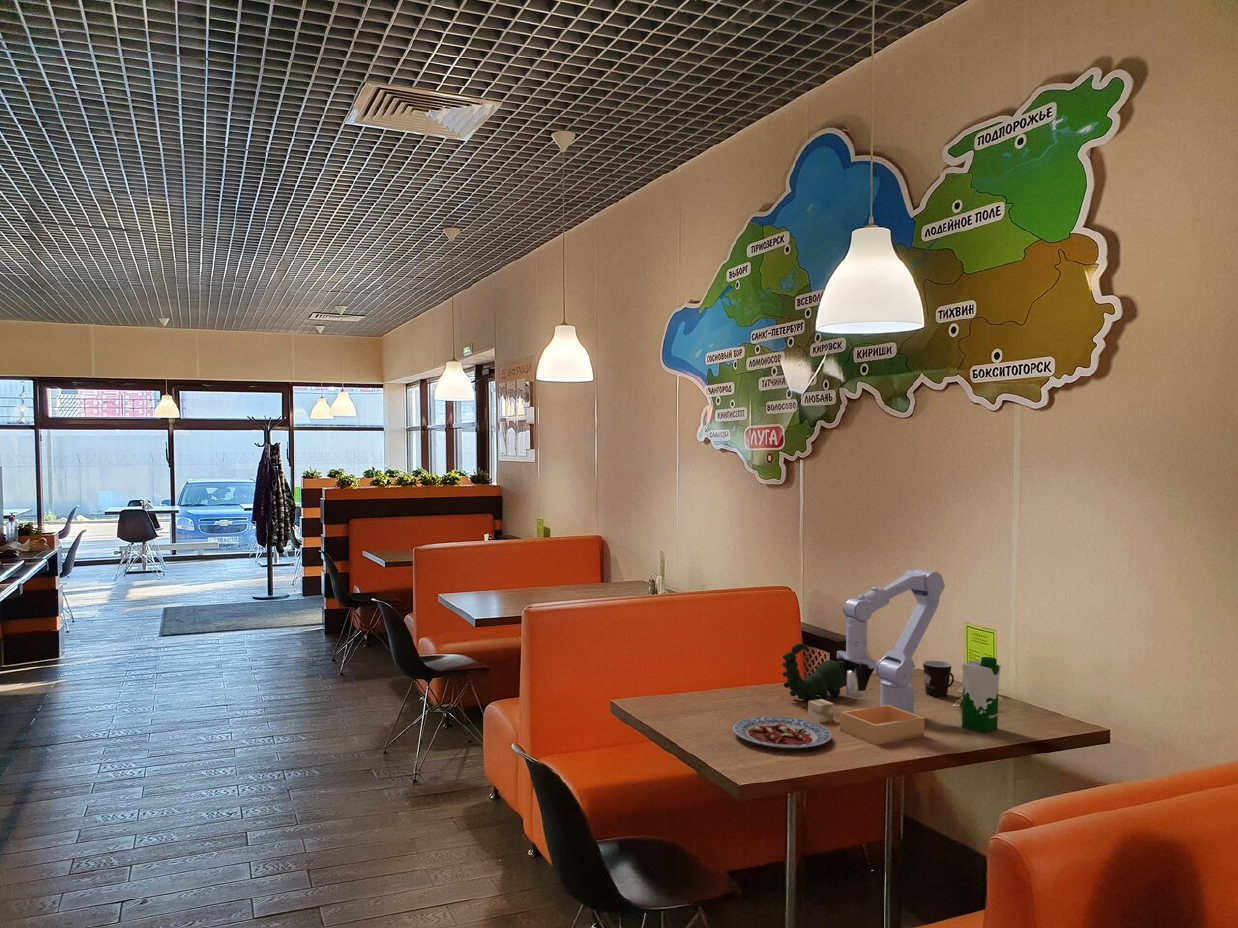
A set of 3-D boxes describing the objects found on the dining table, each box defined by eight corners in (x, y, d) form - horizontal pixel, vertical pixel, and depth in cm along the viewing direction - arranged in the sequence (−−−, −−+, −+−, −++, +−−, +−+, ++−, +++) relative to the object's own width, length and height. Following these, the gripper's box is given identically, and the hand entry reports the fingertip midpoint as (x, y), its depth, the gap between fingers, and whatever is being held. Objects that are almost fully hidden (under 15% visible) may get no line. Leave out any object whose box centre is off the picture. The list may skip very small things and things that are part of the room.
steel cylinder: (855, 691, 264) (856, 668, 264) (867, 696, 260) (868, 671, 260) (842, 693, 262) (843, 669, 262) (854, 698, 257) (854, 673, 257)
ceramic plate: (756, 758, 226) (756, 746, 226) (718, 727, 251) (718, 716, 251) (849, 751, 233) (849, 739, 233) (803, 721, 258) (803, 711, 258)
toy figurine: (797, 711, 273) (860, 695, 284) (794, 649, 272) (858, 635, 283) (778, 703, 281) (840, 687, 293) (775, 643, 280) (837, 630, 292)
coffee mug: (919, 690, 294) (920, 659, 293) (947, 692, 292) (948, 661, 292) (926, 700, 282) (927, 668, 282) (955, 702, 281) (956, 669, 281)
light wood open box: (887, 722, 258) (887, 704, 258) (923, 735, 246) (924, 717, 246) (839, 729, 250) (840, 711, 250) (875, 744, 238) (875, 725, 238)
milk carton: (988, 734, 248) (990, 662, 248) (956, 727, 255) (958, 656, 254) (1002, 728, 254) (1003, 657, 254) (970, 721, 261) (972, 652, 260)
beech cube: (821, 716, 263) (821, 699, 263) (833, 720, 259) (833, 703, 259) (807, 718, 261) (808, 700, 261) (819, 723, 256) (819, 705, 256)
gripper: (829, 637, 265) (828, 683, 265) (863, 647, 252) (862, 695, 253) (847, 635, 268) (846, 680, 269) (882, 645, 255) (881, 693, 256)
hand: (855, 687), depth 261 cm, fingers closed on steel cylinder, 5 cm apart
